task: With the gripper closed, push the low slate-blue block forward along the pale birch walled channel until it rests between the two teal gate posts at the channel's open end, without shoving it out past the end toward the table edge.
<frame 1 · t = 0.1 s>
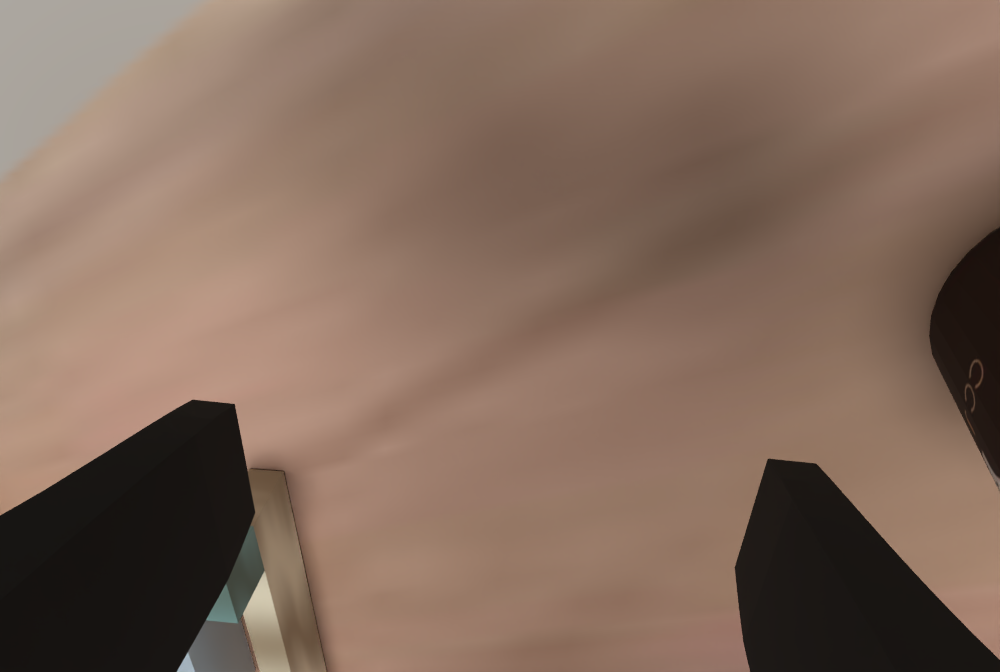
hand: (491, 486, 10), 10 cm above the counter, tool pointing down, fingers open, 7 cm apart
channel: (147, 584, 28), on the counter
block: (161, 602, 29), on the counter
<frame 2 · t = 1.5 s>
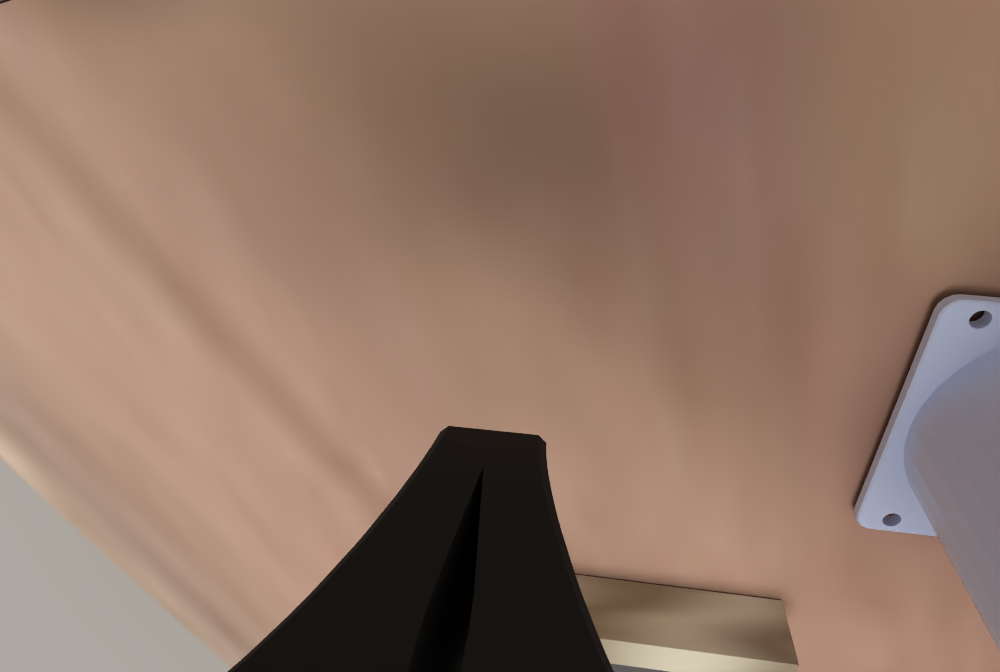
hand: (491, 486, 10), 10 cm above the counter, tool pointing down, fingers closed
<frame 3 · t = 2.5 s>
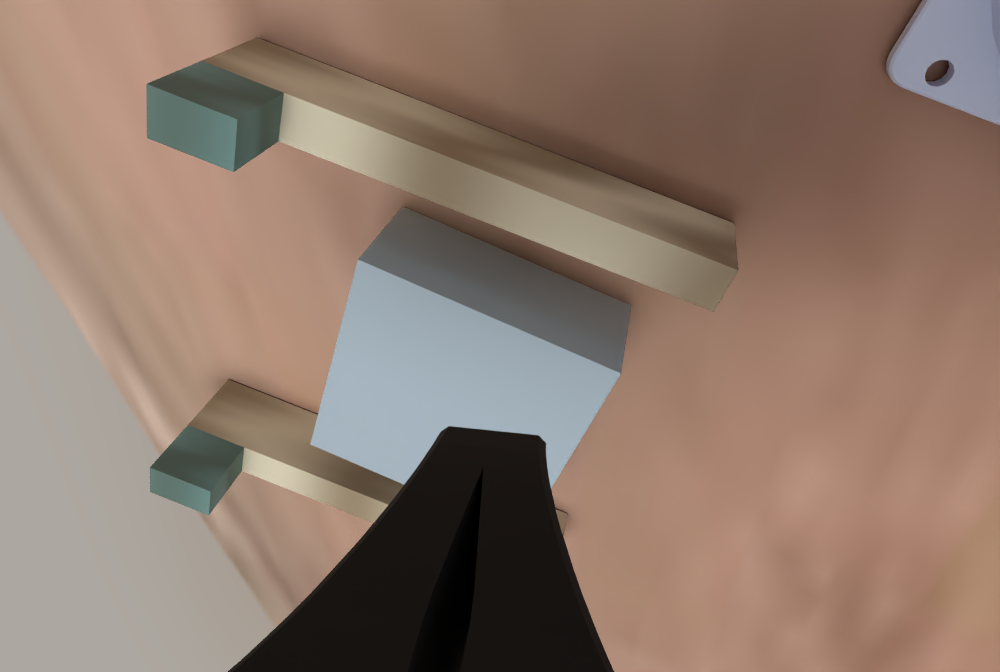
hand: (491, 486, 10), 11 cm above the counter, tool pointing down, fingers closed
channel: (433, 329, 22), on the counter
block: (481, 341, 22), on the counter
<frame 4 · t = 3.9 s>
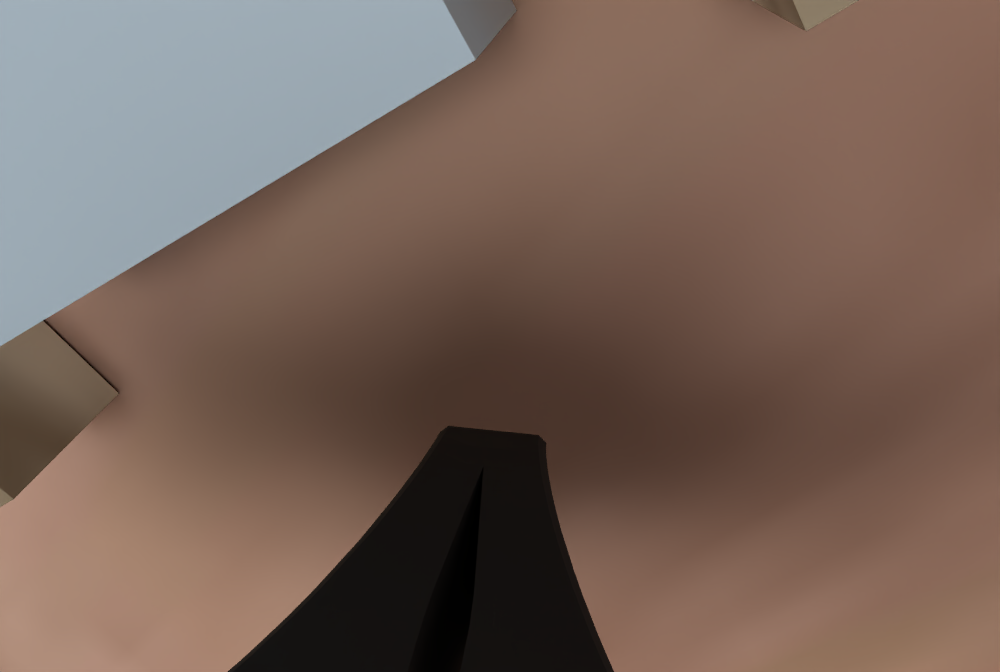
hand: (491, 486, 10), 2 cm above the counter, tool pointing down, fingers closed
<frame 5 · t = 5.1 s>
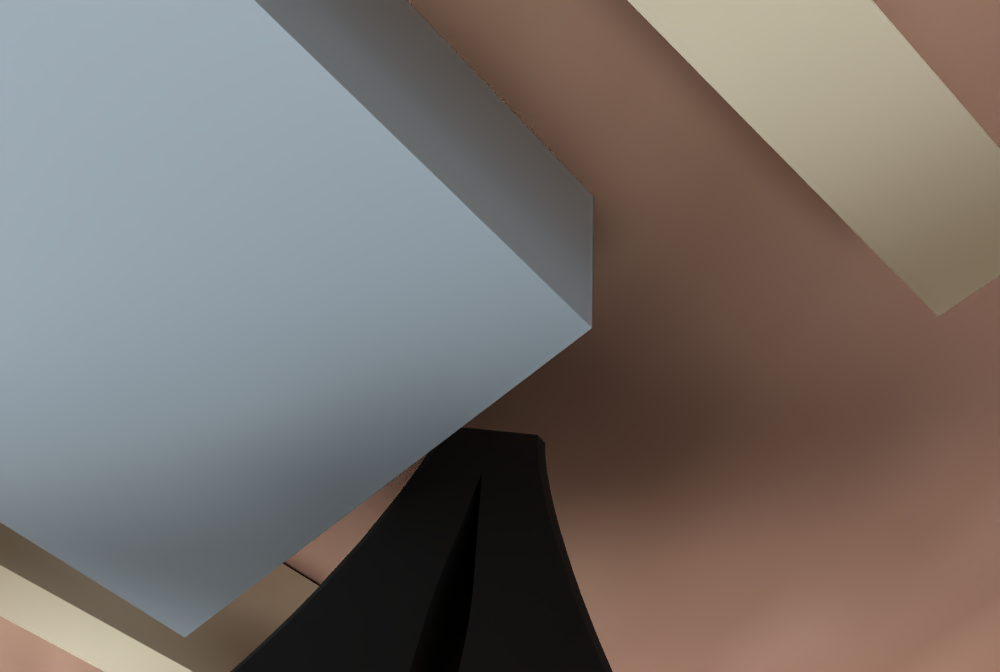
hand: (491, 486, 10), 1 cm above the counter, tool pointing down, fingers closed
channel: (195, 189, 10), on the counter
block: (227, 180, 10), on the counter, touching gripper
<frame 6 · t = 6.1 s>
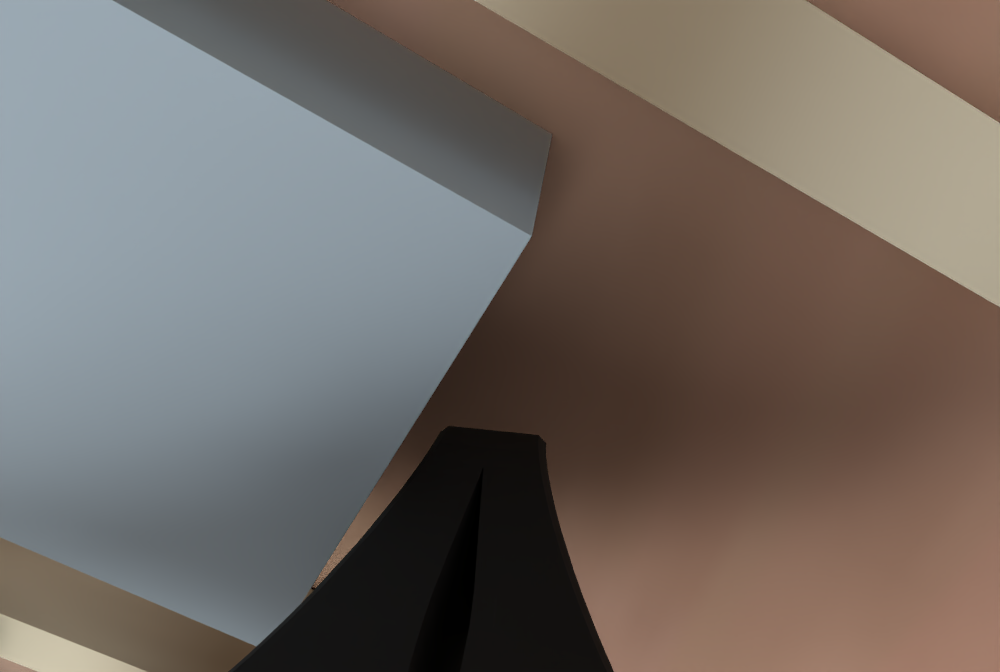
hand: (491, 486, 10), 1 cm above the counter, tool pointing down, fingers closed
channel: (440, 393, 11), on the counter
block: (217, 215, 10), on the counter, touching gripper
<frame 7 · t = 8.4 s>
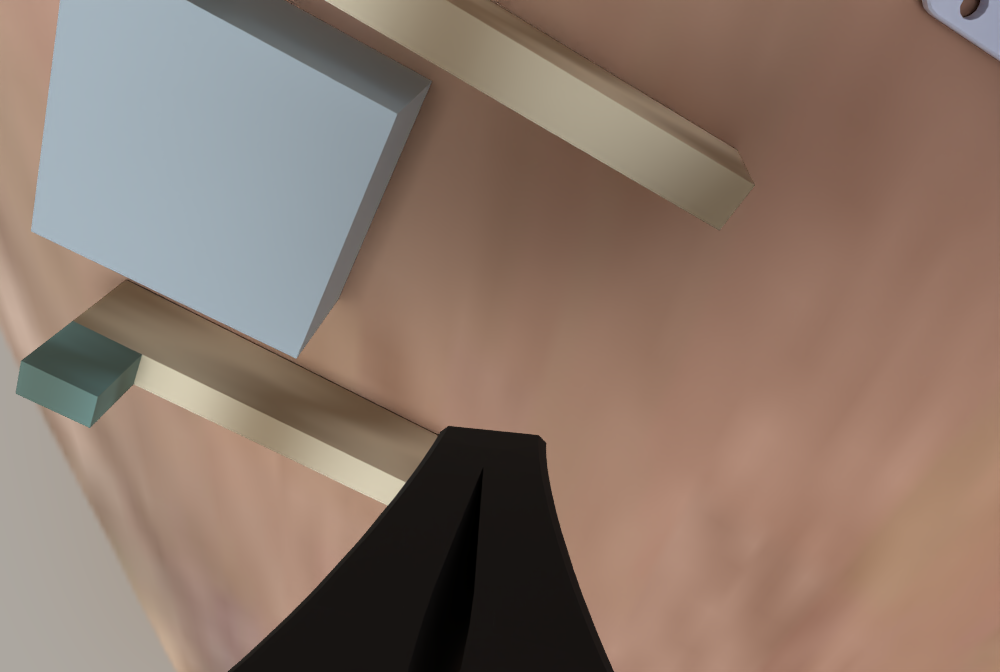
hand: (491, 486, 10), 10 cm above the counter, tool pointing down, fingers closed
channel: (388, 239, 20), on the counter
block: (264, 134, 19), on the counter
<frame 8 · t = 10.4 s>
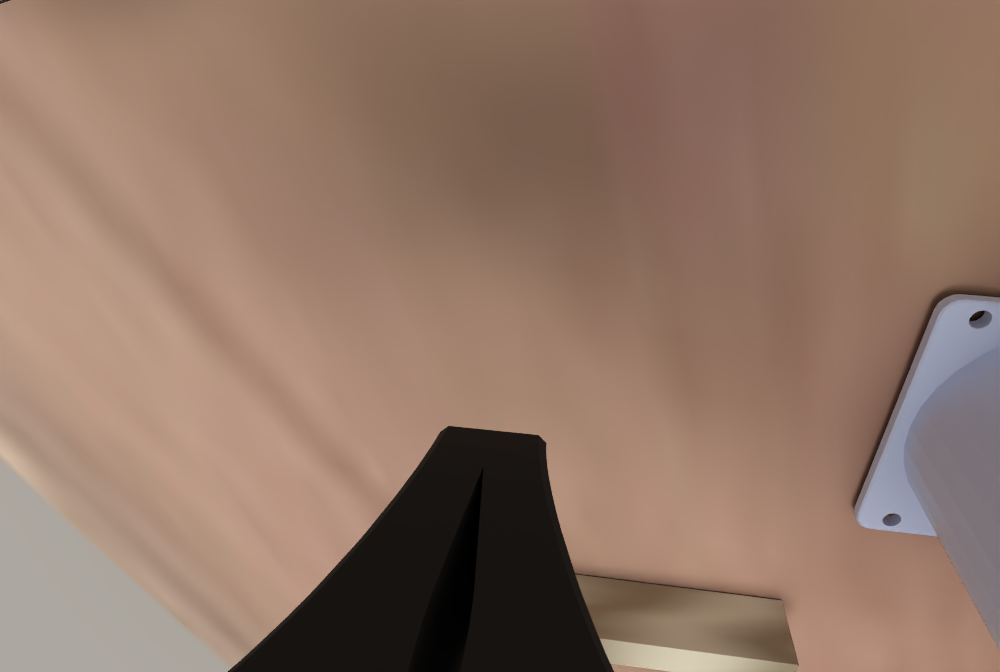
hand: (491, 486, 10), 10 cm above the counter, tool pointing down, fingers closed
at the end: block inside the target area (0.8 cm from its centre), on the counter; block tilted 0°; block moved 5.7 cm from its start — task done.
